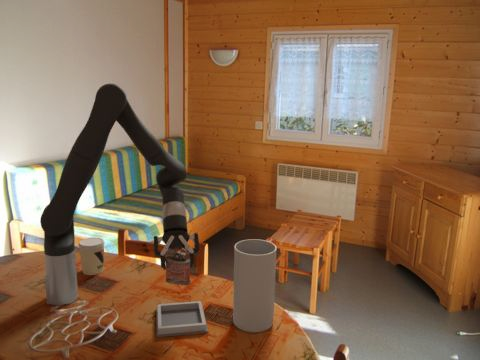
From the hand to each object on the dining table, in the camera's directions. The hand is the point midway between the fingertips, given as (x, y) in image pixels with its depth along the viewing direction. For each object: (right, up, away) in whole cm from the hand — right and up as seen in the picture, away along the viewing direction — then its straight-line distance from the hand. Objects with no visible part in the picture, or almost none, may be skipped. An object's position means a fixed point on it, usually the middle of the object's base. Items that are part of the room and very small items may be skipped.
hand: (178, 267), depth 132 cm
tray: (0, -17, +4) cm, 18 cm away
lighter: (0, -5, +2) cm, 5 cm away
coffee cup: (-38, -9, +37) cm, 54 cm away
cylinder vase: (+23, -18, +4) cm, 29 cm away
